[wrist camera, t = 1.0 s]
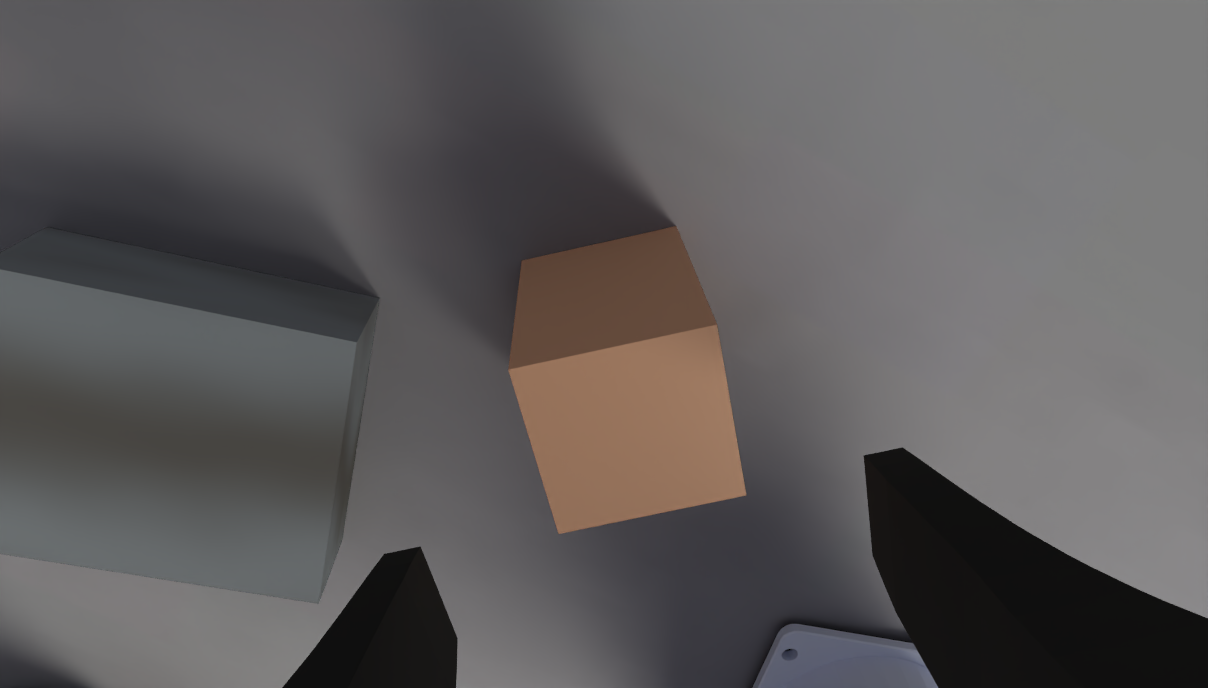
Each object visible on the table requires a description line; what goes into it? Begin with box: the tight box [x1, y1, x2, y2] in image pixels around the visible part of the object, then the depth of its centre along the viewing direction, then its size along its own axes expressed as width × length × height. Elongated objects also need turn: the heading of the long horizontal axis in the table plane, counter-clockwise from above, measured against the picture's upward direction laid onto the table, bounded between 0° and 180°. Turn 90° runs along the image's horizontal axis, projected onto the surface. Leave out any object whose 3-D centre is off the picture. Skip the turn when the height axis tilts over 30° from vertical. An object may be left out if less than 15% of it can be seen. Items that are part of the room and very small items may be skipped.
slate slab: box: [0, 227, 380, 604], centre depth 21 cm, size 8×8×3 cm
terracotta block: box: [508, 226, 746, 534], centre depth 19 cm, size 4×4×6 cm
